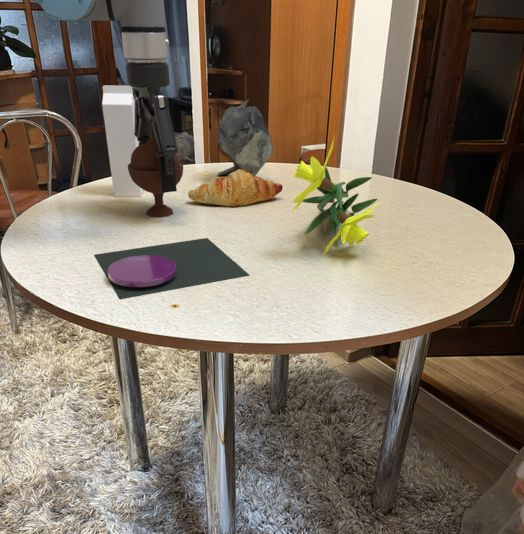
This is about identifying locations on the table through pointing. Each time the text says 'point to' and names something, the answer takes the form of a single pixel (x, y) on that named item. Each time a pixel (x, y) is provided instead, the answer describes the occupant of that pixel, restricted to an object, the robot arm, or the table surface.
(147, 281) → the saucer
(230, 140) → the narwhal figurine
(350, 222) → the daffodil flowers
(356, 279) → the table surface
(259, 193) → the croissant
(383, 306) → the table surface
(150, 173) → the ice cream bowl
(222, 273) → the placemat
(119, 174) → the milk
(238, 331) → the table surface
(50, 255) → the table surface
